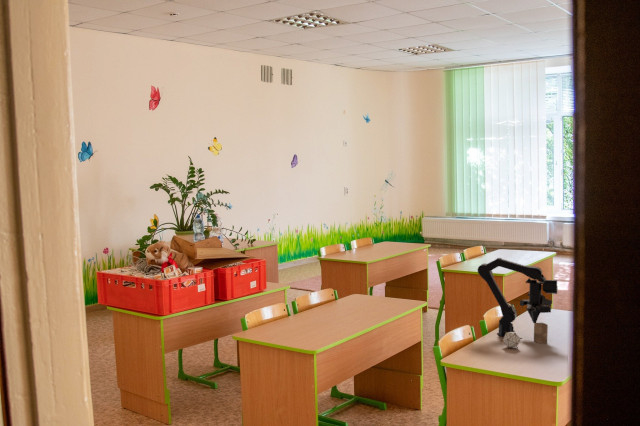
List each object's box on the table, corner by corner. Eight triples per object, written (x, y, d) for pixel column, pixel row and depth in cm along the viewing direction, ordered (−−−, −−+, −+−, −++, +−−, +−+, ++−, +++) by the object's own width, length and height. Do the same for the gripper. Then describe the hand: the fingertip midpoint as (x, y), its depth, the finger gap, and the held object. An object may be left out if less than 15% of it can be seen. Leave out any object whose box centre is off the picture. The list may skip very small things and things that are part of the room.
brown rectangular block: (538, 343, 287) (539, 325, 287) (533, 340, 292) (534, 322, 291) (547, 342, 288) (547, 324, 288) (541, 340, 293) (542, 322, 292)
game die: (514, 356, 278) (523, 343, 272) (497, 349, 279) (505, 335, 273) (516, 343, 285) (525, 330, 278) (499, 336, 286) (507, 322, 280)
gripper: (561, 295, 287) (560, 326, 288) (538, 288, 305) (538, 318, 306) (540, 296, 284) (539, 327, 285) (519, 289, 303) (518, 319, 303)
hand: (534, 322), depth 295 cm, fingers closed
